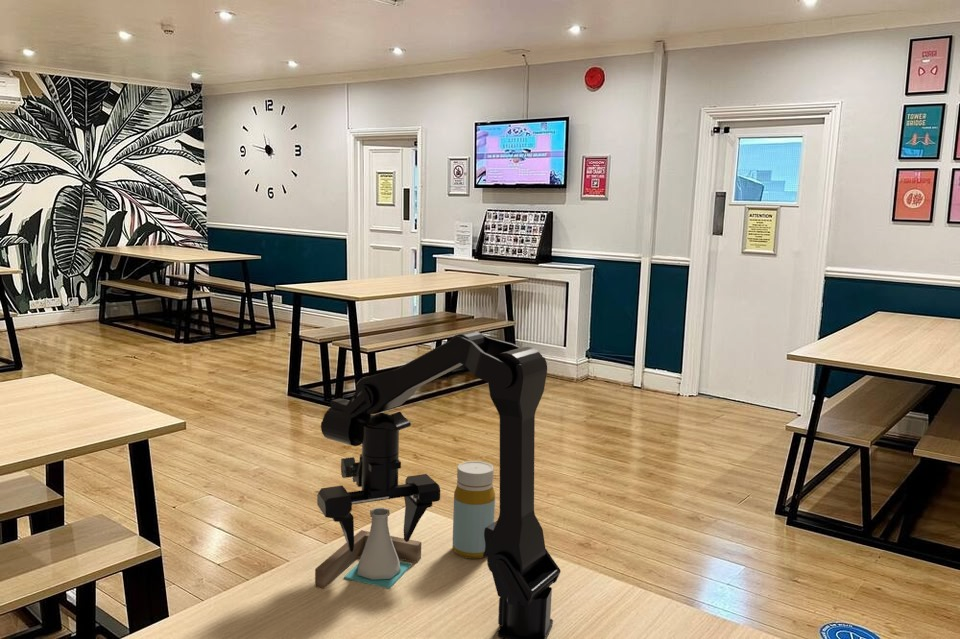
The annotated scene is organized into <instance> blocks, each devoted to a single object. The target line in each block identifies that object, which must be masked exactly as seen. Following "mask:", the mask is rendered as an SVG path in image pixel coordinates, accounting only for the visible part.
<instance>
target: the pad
mask: <svg viewBox="0 0 960 639" xmlns="http://www.w3.org/2000/svg"><path fill="white" fill-rule="evenodd" d="M399 562H400V568H401V571H400V572H399V573H398V574H396V575H395V576H394V577H392V578H391V579H374V580H372V579H369V578H366V577H362V576H359V575H357V566H358V563H357V564H356V565H355V566H354V567H353V568H351V570H350V571H349V572H348V573H346V575H344V577H343V579H345V580H349V581H354V582H358V583H364V584H367V585H368V584H369V585H374V586H377V587H381V588H386V589H391V588H392V587H393V586H395V584H396V583H397V582H398V581H399V579H400V578H401V577H402V576H403V575H404V574H405V573H406V572H407V571H408V570H409V569H410V568H411V567H412V563H410V562H404V561H400V560H399Z"/></svg>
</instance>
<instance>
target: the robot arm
mask: <svg viewBox="0 0 960 639" xmlns="http://www.w3.org/2000/svg"><path fill="white" fill-rule="evenodd" d="M461 366H464V367H466V369H468V370H469V371H470V372H471V374H472V375H473V376H475V377H476V378H477V379H480V380H482V381H483V382H485V383H487V385H488V392H489V397H490V399H491V401H492V403H493V405H494V407H495V409H496V410H497V413H498V418H499V514H498V518H497V520H495V521H494V523H492V524H491V525H489V526H487V527H486V528H485V531H484V538H485V551H484V554H483V556H484V557H483V558H486V562H487V567H488V569H489V572H491V574H492V577H493V582H494V586H495V590H496V593H497V596H498V598H499V600H498V620H497V625H499V626H500V627H499V629H498V631H497V636H498V637H499V638H503V639H547V638H548V636H549V633H550V631H551V629H552V626H553V624H554V620H553V619H552V618H551V611H552V610H551V609H552V594H553V593H552V592H553V588H552V587H550V586H552V585H553V584H555V583H557V582H558V579H559V577H560V574H561V569H560V567H559V566H558V564H557V563H556V562H555V560H554V558H553V557H552V555H551V554H550V553H549V551H548V550H547V548H546V543H545V536H544V530H543V527H542V525H541V523H540V522H539V520H538V518H537V516H536V514H535V427H536V426H535V422H536V420H535V419H536V416H535V415H536V411H537V408H538V406H539V404H540V402H541V400H542V397H543V394H544V391H545V387H546V380H547V376H548V362H547V360H546V358H545V357H544V356H543V355H542V354H541V352H540V351H539V350H537V349H536V348H534V347H530V346H522V347H520V345H516V344H515V343H512V342H508V341H504V340H500V339H497V338H493V337H490V336H487V335H485V334H483V333H481V332H479V331H474V330H472V331H469V332H468V331H467V332H463V333H459V334H455V335H454V336H453V337H452V338H451V339H449V340H447V341H446V342H444V343H442V344H441V345H439V346H436V347H435V348H433V349H431V350H430V351H429V350H428V351H427V352H426V353H424V354H421V355H420V356H418V357H416V358H414V359H412V360H410V361H409V362H407V363H405V364H404V365H402V366H400V367H398V368H394V369H392V370H391V369H390V370H386V371H384V372H379V373H375V374H372V375H368V376H364V377H362V378H360V379H359V380H358V381H357V382H356V390H355V392H354V393H353V395H352V397H350V400H349V401H348V400H346V399H344V398H341V397H340V398H336V399H332V400H330V408H328V409H327V410H326V412H325V413H324V416H323V417H322V421H321V423H320V430H321V433H322V436H323V437H324V438H325V439H327V440H329V441H330V440H331V441H335V442H339V443H342V444H345V445H350V446H352V447H359V446H361V454H359V461H358V462H357V461H356V460H355V457H354V456H352V457H343V458H341V459H340V472H341V478H343V479H345V478H346V479H347V478H352V482H353V483H355V484H356V486H357V487H358V488H361V490H357V491H356V490H354V491H347V489H346V488H345V487H344V485H336V486H329V487H323V488H320V490H318V492H317V496H316V497H317V498H316V500H317V501H316V503H317V506H318V508H319V510H320V512H321V513H322V514H323V516H324V517H325V518H328V519H332V520H333V521H334V522H335V523H339V525H340V527H341V529H342V530H341V531H342V532H343V536H344V538H345V541H346V542H345V543H347V545H348V548H349V550H350V552H353V549H354V536H355V531H354V530H355V527H354V525H355V524H354V523H355V522H354V521H355V520H354V515H353V514H352V513H351V511H352V510H353V505H359V504H366V503H372V502H379V501H385V500H390V499H392V500H393V499H399V498H404V499H403V500H404V505H405V508H404V520H403V538H404V540H405V541H406V542H408V541H409V540H411V537H412V535H413V533H414V531H415V530H416V528H417V525H418V523H419V522H420V521H421V518H422V517H423V516H424V513H425V512H426V510H428V508H432V507H433V503H434V502H435V503H437V502H439V501H440V500H441V487H440V485H439V484H438V483H437V482H436V481H435V480H434V479H433V478H432V477H431V476H429V475H428V474H427V473H423V474H422V473H421V474H414V475H410V476H409V475H408V476H407V477H406V478H405V482H404V483H405V484H404V483H403V484H399V469H401V468H402V462H401V460H400V459H399V458H400V456H399V454H400V452H399V451H400V450H399V443H400V431H401V430H404V429H406V428H407V429H408V428H409V427H411V426H412V424H411V421H410V420H409V419H408V418H406V416H404V414H403V413H402V411H397V412H393V413H391V414H390V413H385V412H383V411H386V410H390V409H393V408H396V407H399V406H402V405H403V404H404V403H406V401H408V400H409V399H410V398H411V397H412V396H414V394H415V393H416V391H417V390H418V389H419V388H420V387H423V386H424V385H426V384H429V383H430V382H432V381H434V380H435V379H439V378H440V377H441V376H444V375H446V374H447V373H450V372H452V371H453V370H455V369H457V368H460V367H461Z"/></svg>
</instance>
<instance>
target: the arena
mask: <svg viewBox="0 0 960 639" xmlns="http://www.w3.org/2000/svg"><path fill="white" fill-rule="evenodd" d="M369 534H370V531H367V530H360V531H358V532H357V533H356V534H354V549H353V552H350V550H349V548H348V545H347V542H345V543H344V544H343V545H342V546H340V548H338V549H337V550H336V551H335V552H333V554H331V555H330V556H328V557H327V558H326V559H325V560H324V561H323V562H322V563H321V564H319V565H318V566H317V567H315V569H314V570H315V571H314V577H315V578H314V588H318V589H322V590H324V589H326V588H327V587H328V586H329V585H331V583H332V582H333V581H335V580H336V579H337V578H338V577H340V575H341V574H343V572H344V571H346V569H348V568H349V566H351V565H352V564H354V562H355V561H356V560H358V559H360V558H361V555H362V553H363V550H364V548H365V545H366V542H367V539H368V536H369ZM390 536H391V539H392V542H393V545H394V548H395V551H396V553H397V556H398V559H399V560H403V561H408V562H413V563H418V562H420V560H422V541H418V540H414V539H409V541H408V542H406V541H405V540H404V537H398V536H393V535H390Z"/></svg>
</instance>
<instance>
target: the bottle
mask: <svg viewBox="0 0 960 639" xmlns="http://www.w3.org/2000/svg"><path fill="white" fill-rule="evenodd" d="M456 470H457V471H456V472H457V473H456V476H457V477H456V479H457V480H456V487H455V489H454V494H453V519H452V520H453V521H452V549H453V550H454V552H455V553H456V554H457V555H458V556H460V557H463V558H465V559H481V558H485V557H484V556H483V554H484V551H485V538H484V531H485V528H486V527H487V526H489V525H491V524H492V523H494V522H495V516H496V515H495V513H496V508H495V507H496V493H495V490H494V473H495V470H494V466H493V464H491V463H489V462H484V461H479V460H469V461H464V462H461V463H459V464H458V466H457V469H456Z"/></svg>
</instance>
